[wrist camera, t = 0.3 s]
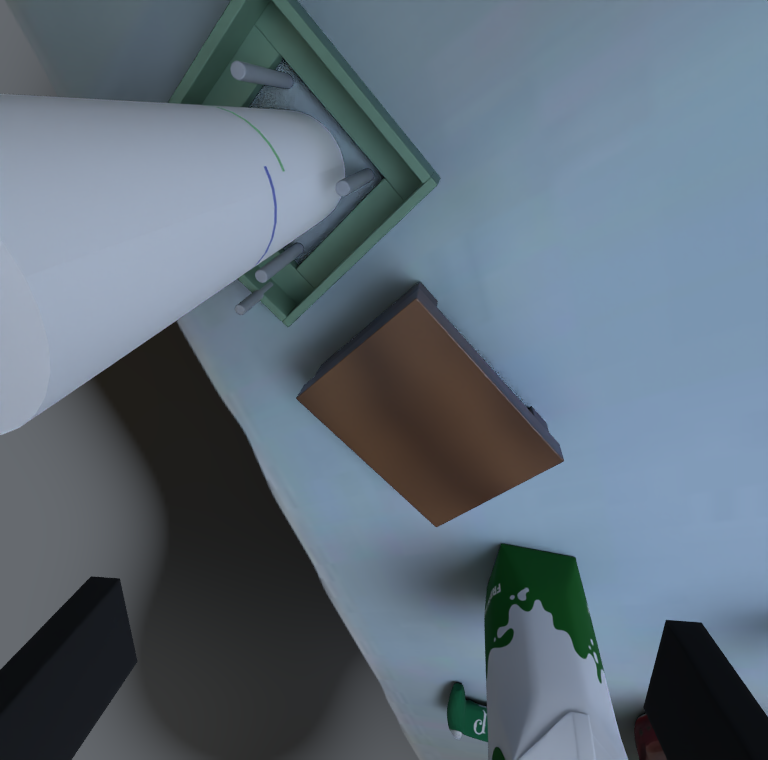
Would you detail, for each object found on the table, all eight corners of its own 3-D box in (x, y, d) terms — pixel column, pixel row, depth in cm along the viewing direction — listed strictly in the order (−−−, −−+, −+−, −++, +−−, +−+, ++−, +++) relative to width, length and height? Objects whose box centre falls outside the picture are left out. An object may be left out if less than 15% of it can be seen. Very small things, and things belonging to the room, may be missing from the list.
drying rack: (280, -21, 26) (222, -65, 20) (441, 178, 29) (433, 192, 23) (157, 166, 32) (84, 176, 26) (302, 310, 35) (268, 349, 29)
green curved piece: (449, 673, 60) (438, 723, 59) (454, 685, 56) (443, 739, 55) (517, 692, 60) (508, 744, 58) (527, 706, 56) (517, 761, 55)
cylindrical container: (258, 232, 33) (-132, 440, 12) (229, 119, 30) (-401, 118, 8) (353, 220, 31) (108, 434, 10) (333, 101, 28) (-101, 39, 7)
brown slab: (423, 274, 33) (416, 297, 28) (553, 421, 37) (564, 461, 32) (315, 367, 38) (295, 398, 34) (439, 486, 42) (436, 527, 38)
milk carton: (493, 534, 44) (509, 799, 27) (589, 552, 43) (669, 838, 26) (476, 591, 48) (480, 849, 31) (562, 608, 48) (615, 883, 30)
